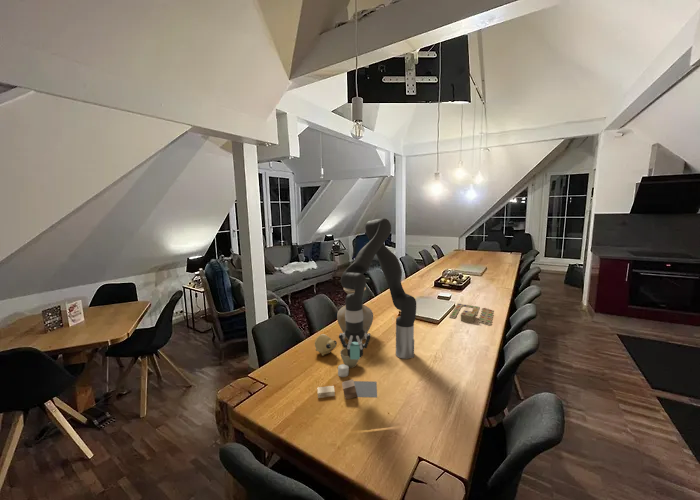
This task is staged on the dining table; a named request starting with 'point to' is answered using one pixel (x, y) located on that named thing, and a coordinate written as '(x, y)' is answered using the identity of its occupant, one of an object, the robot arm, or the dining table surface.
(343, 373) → the grey cylinder
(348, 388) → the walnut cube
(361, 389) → the felt mat
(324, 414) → the dining table surface
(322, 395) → the beech slab
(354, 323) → the robot arm
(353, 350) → the teal block
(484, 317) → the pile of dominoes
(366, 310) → the vase
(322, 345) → the toy pig
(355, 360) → the flower pot
